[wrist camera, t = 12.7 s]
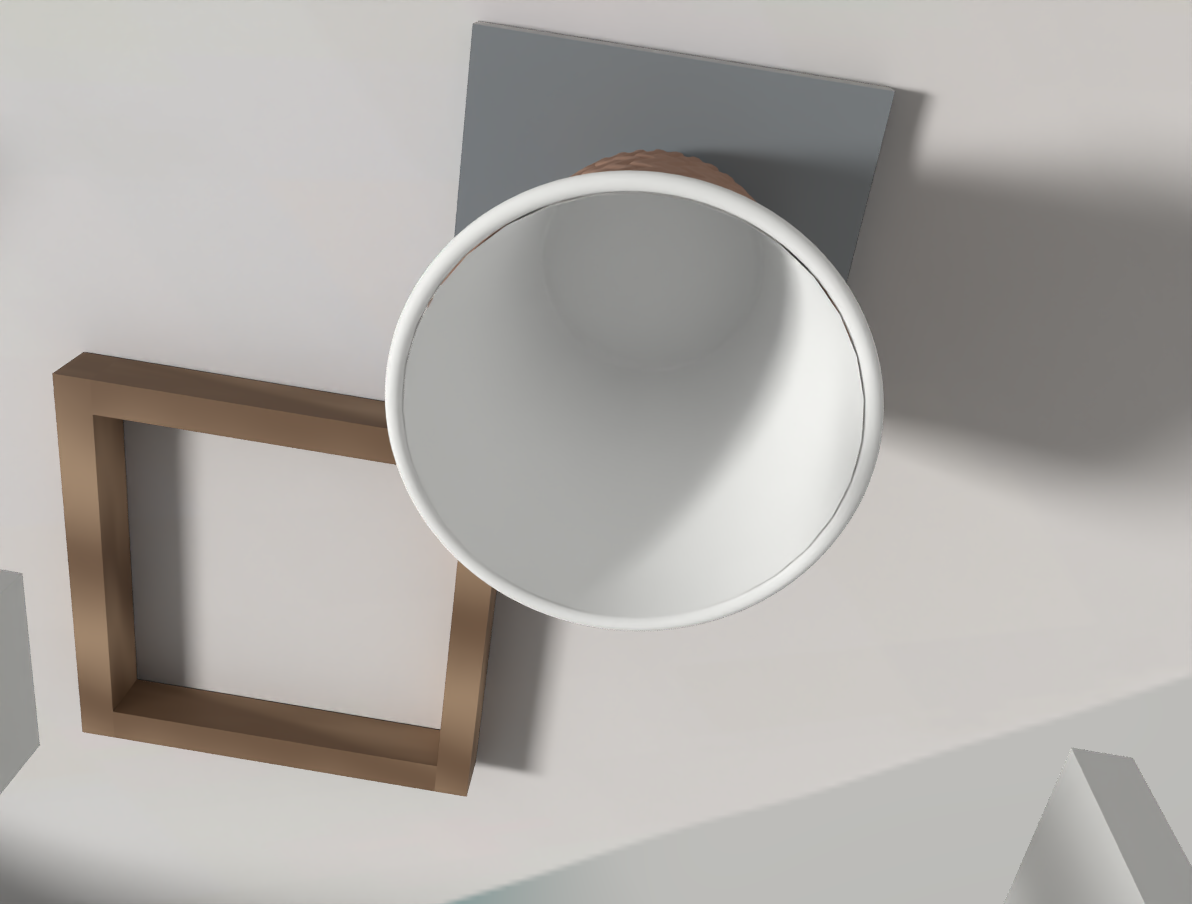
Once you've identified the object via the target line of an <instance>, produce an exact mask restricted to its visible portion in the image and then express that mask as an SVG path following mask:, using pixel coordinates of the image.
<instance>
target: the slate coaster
mask: <svg viewBox="0 0 1192 904" xmlns="http://www.w3.org/2000/svg"><path fill="white" fill-rule="evenodd" d="M894 93H895V91H894V90H893V89H891V88H890V87H887V86H881V85H875V84H869V83H862V82H856V81H850V80H844V79H837V78H831V77H825V76H819V75H813V74H806V73H800V72H794V71H788V70H781V69H775V68H769V67H763V66H756V65H750V64H744V63H738V62H731V61H725V60H719V59H713V58H707V57H700V56H694V55H688V54H682V53H675V52H669V51H663V50H657V49H650V48H644V47H638V46H632V45H625V44H619V43H613V42H607V41H601V40H594V39H588V38H582V37H576V36H569V35H563V34H557V33H551V32H544V31H538V30H532V29H526V28H519V27H513V26H507V25H501V24H494V23H488V22H482V21H478V22H476V23H473V28H472V39H471V51H470V62H469V74H468V85H467V97H466V109H465V120H464V132H463V143H462V155H461V166H460V178H459V189H458V201H457V213H456V224H455V236H454V237H456V236H457V235H458V234H459V233H460V232H461V231H462V230H464V229H465V228H466V227H467V226H468V225H469V224H471V223H472V222H473V221H475V220H476V219H477V218H479V217H480V216H482V215H483V214H485V213H486V212H488V211H489V210H491V209H492V208H494V207H495V206H497V205H499V204H501V203H503V202H504V201H506V200H508V199H510V198H512V197H514V196H516V195H518V194H521V193H523V192H525V191H527V190H530V189H533V188H535V187H538V186H540V185H543V184H546V183H550V182H553V181H556V180H560V179H564V178H568V177H570V176H572V175H573V174H575V173H576V172H578V171H580V170H581V169H583V168H585V167H586V166H588V165H591V164H593V163H595V162H597V161H599V160H601V159H603V158H605V157H608V158H609V157H612V156H614V155H617V154H618V153H622V152H627V153H631V152H634V151H636V150H645V151H646V152H649V151H654V150H656V149H660V150H664V151H665V152H680V153H682V154H683V155H684V156H685V157H692V156H694V157H697V158H699V159H700V160H701V161H702V162H704V163H709V164H712V165H714V166H715V167H717V168H718V170H719V172H722V173H726V174H728V175H729V176H730V177H732V178H733V179H734V181H735V183H737V184H739V185H740V186H742V187H743V188H744V189H745V190H746V192H747V193H748V194H749V195H750V196H751V197H752V198H753V199H754V200H755V201H756V202H757V203H759V204H760V205H762V206H764V207H765V208H767V209H769V210H771V211H772V212H774V213H775V214H777V215H778V216H780V217H781V218H783V219H784V220H786V221H787V222H788V223H790V224H791V225H792V226H793V227H795V228H796V229H797V230H798V231H800V232H801V233H802V234H803V235H804V236H805V237H807V238H808V239H809V240H810V241H811V242H812V243H813V244H814V245H815V246H816V247H817V248H818V249H819V250H820V251H821V252H822V253H823V254H824V255H825V256H826V258H827V259H828V260H829V261H830V262H831V263H832V265H833V266H834V267H835V268H836V270H837V271H838V272H839V274H840V275H841V276H842V278H843V279H844V280H845V282H846V283H847V279H848V275H849V271H850V267H851V263H852V259H853V255H854V251H855V247H856V243H857V239H858V235H859V231H860V227H861V224H862V220H863V216H864V212H865V208H866V204H867V200H868V196H869V192H870V188H871V184H872V180H873V176H874V172H875V168H876V164H877V160H878V156H879V152H880V148H881V145H882V141H883V137H884V133H885V129H886V125H887V121H888V117H889V113H890V109H891V105H892V101H893V97H894Z"/></svg>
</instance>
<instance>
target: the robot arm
mask: <svg viewBox="0 0 1192 904" xmlns="http://www.w3.org/2000/svg"><path fill="white" fill-rule="evenodd" d="M39 745H40V742H39V733H38V723H37V713H36V703H35V694H34V684H33V674H32V664H31V654H30V645H29V635H28V625H27V615H26V606H25V596H24V586H23V576H22V573H18V572H12V571H6V570H0V794H1V793H2V791H3V790H4V789H5V788H6V786H7V785H8V784H9V783H10V781H11V780H12V779H13V778H14V776H15V775H16V774H17V773H18V771H19V770H20V769H21V768H22V767H23V765H24V764H25V763H26V762H27V760H28V759H29V758H30V757H31V755H32V754H33V753H34V752H35V750H36V749H37V748H38V747H39ZM1004 904H1192V866H1191V864H1190V863H1189V861H1188V859H1187V857H1186V855H1185V853H1184V852H1183V850H1182V848H1181V846H1180V844H1179V842H1178V840H1177V838H1176V837H1175V835H1174V833H1173V831H1172V830H1171V827H1170V826H1169V824H1168V822H1167V820H1166V818H1165V816H1164V814H1163V813H1162V811H1161V809H1160V807H1159V805H1158V804H1157V801H1156V800H1155V798H1154V796H1153V794H1152V792H1151V790H1150V789H1149V787H1148V785H1147V783H1146V781H1145V779H1144V778H1143V776H1142V774H1141V772H1140V770H1139V768H1138V767H1137V765H1136V763H1135V761H1134V759H1133V758H1130V757H1124V756H1117V755H1111V754H1106V753H1099V752H1093V751H1088V750H1081V749H1076V748H1071V750H1070V752H1069V754H1068V757H1067V759H1066V761H1065V764H1064V766H1063V768H1062V771H1061V773H1060V775H1059V778H1058V780H1057V782H1056V785H1055V787H1054V789H1053V791H1052V794H1051V796H1050V798H1049V801H1048V803H1047V805H1046V807H1045V810H1044V812H1043V814H1042V817H1041V819H1040V821H1039V824H1038V826H1037V828H1036V831H1035V833H1034V835H1033V838H1032V840H1031V842H1030V844H1029V847H1028V849H1027V851H1026V854H1025V856H1024V858H1023V860H1022V863H1021V865H1020V867H1019V870H1018V872H1017V874H1016V877H1015V879H1014V881H1013V884H1012V886H1011V888H1010V890H1009V893H1008V895H1007V897H1006V900H1005V902H1004Z"/></svg>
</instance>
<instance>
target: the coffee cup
mask: <svg viewBox="0 0 1192 904" xmlns="http://www.w3.org/2000/svg"><path fill="white" fill-rule="evenodd" d="M440 285H441V286H440ZM439 286H440V287H439ZM437 289H438V290H437ZM435 292H436V293H435ZM434 294H435V295H434ZM433 295H434V296H433ZM432 297H433V298H432ZM427 305H428V307H427ZM426 307H427V310H426V312H425V313H424V311H425V309H426ZM423 313H424V315H423ZM839 313H840V314H839ZM422 315H423V317H422ZM840 315H841V316H840ZM421 317H422V319H421ZM841 317H842V318H841ZM842 319H843V320H842ZM420 320H421V321H420ZM843 321H844V322H843ZM419 322H420V323H419ZM416 329H417V330H416ZM415 332H416V333H415ZM414 335H415V337H414ZM413 338H414V340H413ZM851 339H852V342H853V345H854V348H855V351H856V353H855V351H854V348H853V346H852V343H851ZM412 341H413V343H412ZM411 344H412V347H411ZM410 348H411V350H410ZM409 351H410V354H409ZM408 355H409V357H408ZM407 360H408V361H407ZM858 365H859V367H860V372H861V378H862V385H863V391H862V385H861V379H860V373H859V367H858ZM404 379H405V384H404ZM863 396H864V397H863ZM863 408H864V419H863ZM385 410H386V421H387V428H388V434H389V439H390V443H391V448H392V451H393V455H394V458H395V461H396V464H397V467H398V470H399V473H400V475H401V478H402V480H403V483H404V485H405V487H406V489H407V492H408V493H409V495H410V497H411V499H412V501H413V503H414V505H415V507H416V508H417V510H418V512H419V513H420V515H421V516H422V518H423V519H424V521H425V522H426V524H427V525H428V527H429V528H430V529H431V531H432V532H433V533H434V534H435V536H436V537H437V538H438V539H439V541H440V542H441V543H442V544H443V545H444V546H445V547H446V549H447V550H448V551H449V552H450V553H451V554H452V555H453V556H454V557H455V558H456V559H457V560H458V561H460V562H461V563H462V564H463V565H464V566H465V567H466V568H467V569H469V570H470V571H471V572H472V573H473V574H475V575H476V576H477V577H479V578H480V579H481V580H483V581H484V582H485V583H487V584H488V585H490V586H491V587H493V588H494V589H496V590H497V591H499V592H501V593H502V594H504V595H506V596H507V597H509V598H511V599H513V600H515V601H517V602H519V603H521V604H523V605H525V606H527V607H529V608H531V609H534V610H536V611H538V612H541V613H544V614H546V615H549V616H552V617H555V618H558V619H561V620H564V621H568V622H572V623H575V624H580V625H585V626H589V627H595V628H602V629H610V630H621V631H658V630H669V629H677V628H683V627H689V626H694V625H699V624H703V623H707V622H711V621H714V620H718V619H721V618H724V617H727V616H730V615H732V614H735V613H737V612H740V611H742V610H745V609H747V608H749V607H751V606H753V605H755V604H757V603H759V602H761V601H763V600H765V599H767V598H768V597H770V596H772V595H773V594H775V593H777V592H778V591H780V590H781V589H783V588H784V587H786V586H787V585H789V584H790V583H791V582H793V581H794V580H795V579H797V578H798V577H799V576H800V575H802V574H803V573H804V572H805V571H806V570H807V569H809V568H810V567H811V566H812V565H813V564H814V563H815V562H816V561H817V560H818V559H819V558H820V557H821V556H822V555H823V554H824V553H825V552H826V551H827V550H828V548H829V547H830V546H831V545H832V544H833V543H834V541H835V540H836V539H837V538H838V536H839V535H840V534H841V532H842V531H843V530H844V528H845V527H846V525H847V524H848V522H849V521H850V519H851V518H852V516H853V514H854V513H855V511H856V509H857V508H858V506H859V504H860V502H861V500H862V498H863V496H864V494H865V491H866V489H867V487H868V484H869V482H870V479H871V476H872V474H873V471H874V468H875V464H876V461H877V457H878V453H879V448H880V443H881V437H882V430H883V418H884V392H883V380H882V373H881V367H880V362H879V357H878V353H877V349H876V346H875V342H874V339H873V336H872V333H871V330H870V328H869V325H868V323H867V320H866V318H865V316H864V314H863V312H862V309H861V307H860V305H859V304H858V302H857V300H856V298H855V296H854V295H853V293H852V291H851V290H850V288H849V287H848V285H847V283H846V282H845V280H844V279H843V278H842V276H841V275H840V274H839V272H838V271H837V270H836V268H835V267H834V266H833V265H832V263H831V262H830V261H829V260H828V259H827V258H826V256H825V255H824V254H823V253H822V252H821V251H820V250H819V249H818V248H817V247H816V246H815V245H814V244H813V243H812V242H811V241H810V240H809V239H808V238H807V237H805V236H804V235H803V234H802V233H801V232H800V231H798V230H797V229H796V228H795V227H793V226H792V225H791V224H790V223H788V222H787V221H786V220H784V219H783V218H781V217H780V216H778V215H777V214H775V213H774V212H772V211H771V210H769V209H767V208H765V207H764V206H762V205H760V204H759V203H757V202H756V201H755V200H754V199H753V198H752V197H751V196H750V195H749V194H748V193H747V192H746V190H745V189H744V188H743V187H742V186H740V185H739V184H737V183H735V181H734V179H733V178H732V177H730V176H729V175H728V174H726V173H722V172H719V170H718V168H717V167H715V166H714V165H712V164H709V163H704V162H702V161H701V160H700V159H699V158H697V157H694V156H692V157H685V156H684V155H683V154H682V153H680V152H665V151H664V150H660V149H656V150H654V151H649V152H646V151H645V150H636V151H634V152H631V153H627V152H622V153H618V154H617V155H614V156H612V157H609V158H608V157H605V158H603V159H601V160H599V161H597V162H595V163H593V164H591V165H588V166H586V167H585V168H583V169H581V170H580V171H578V172H576V173H575V174H573V175H572V176H570V177H568V178H564V179H560V180H556V181H553V182H550V183H546V184H543V185H540V186H538V187H535V188H533V189H530V190H527V191H525V192H523V193H521V194H518V195H516V196H514V197H512V198H510V199H508V200H506V201H504V202H503V203H501V204H499V205H497V206H495V207H494V208H492V209H491V210H489V211H488V212H486V213H485V214H483V215H482V216H480V217H479V218H477V219H476V220H475V221H473V222H472V223H471V224H469V225H468V226H467V227H466V228H465V229H464V230H462V231H461V232H460V233H459V234H458V235H457V236H456V237H454V238H453V239H452V240H451V241H450V242H449V243H448V244H447V245H446V246H445V247H444V249H443V250H442V251H441V252H440V253H439V254H438V255H437V256H436V258H435V259H434V260H433V261H432V263H431V264H430V265H429V266H428V268H427V269H426V270H425V272H424V273H423V275H422V276H421V278H420V279H419V281H418V282H417V284H416V286H415V287H414V289H413V291H412V293H411V294H410V296H409V298H408V300H407V302H406V304H405V306H404V309H403V311H402V313H401V316H400V318H399V321H398V324H397V326H396V329H395V332H394V336H393V339H392V343H391V347H390V352H389V357H388V362H387V370H386V380H385ZM862 426H863V431H862ZM858 453H859V454H858ZM856 460H857V461H856ZM855 464H856V465H855Z"/></svg>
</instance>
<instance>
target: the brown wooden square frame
mask: <svg viewBox="0 0 1192 904" xmlns="http://www.w3.org/2000/svg"><path fill="white" fill-rule="evenodd" d="M52 374H53V386H54V398H55V410H56V422H57V434H58V445H59V457H60V469H61V481H62V493H63V505H64V517H65V529H66V540H67V552H68V564H69V576H70V588H71V600H72V612H73V624H74V636H75V647H76V659H77V671H78V683H79V695H80V707H81V719H82V731H83V732H86V733H92V734H98V735H104V736H110V737H116V738H122V739H128V740H133V741H139V742H145V743H151V744H157V745H163V746H169V747H175V748H181V749H187V750H193V751H199V752H205V753H211V754H217V755H223V756H228V757H234V758H240V759H246V760H252V761H258V762H264V763H270V764H276V765H282V766H288V767H294V768H300V769H306V770H312V771H318V772H324V773H329V774H335V775H341V776H347V777H353V778H359V779H365V780H371V781H377V782H383V783H389V784H395V785H401V786H407V787H413V788H419V789H424V790H430V791H436V792H442V793H448V794H454V795H460V796H466V797H467V793H468V789H469V785H470V781H471V778H472V774H473V770H474V766H475V762H476V756H477V748H478V739H479V731H480V723H481V715H482V707H483V698H484V690H485V682H486V674H487V666H488V657H489V649H490V641H491V633H492V624H493V616H494V608H495V600H496V592H497V590H496V589H494V588H493V587H491V586H490V585H488V584H487V583H485V582H484V581H483V580H481V579H480V578H479V577H477V576H476V575H475V574H473V573H472V572H471V571H470V570H469V569H467V568H466V567H465V566H464V565H463V564H462V563H461V562H460V561H458V563H457V573H456V583H455V593H454V603H453V613H452V623H451V632H450V642H449V652H448V662H447V672H446V682H445V692H444V701H443V711H442V721H441V730H436V729H430V728H424V727H418V726H412V725H406V724H400V723H394V722H388V721H383V720H377V719H371V718H365V717H359V716H353V715H347V714H341V713H335V712H329V711H323V710H317V709H311V708H305V707H299V706H293V705H287V704H281V703H275V702H269V701H263V700H257V699H251V698H245V697H239V696H233V695H228V694H222V693H216V692H210V691H204V690H198V689H192V688H186V687H180V686H174V685H168V684H162V683H156V682H150V681H144V680H138V679H137V669H136V651H135V633H134V614H133V596H132V577H131V559H130V541H129V522H128V504H127V486H126V467H125V449H124V430H123V420H129V421H135V422H141V423H147V424H153V425H159V426H165V427H171V428H177V429H183V430H189V431H195V432H201V433H208V434H214V435H220V436H226V437H232V438H238V439H244V440H250V441H256V442H262V443H268V444H274V445H280V446H286V447H292V448H298V449H304V450H310V451H317V452H323V453H329V454H335V455H341V456H347V457H353V458H359V459H365V460H371V461H377V462H383V463H389V464H395V465H397V464H396V461H395V458H394V455H393V451H392V448H391V443H390V439H389V434H388V428H387V421H386V410H385V402H384V401H378V400H372V399H365V398H359V397H353V396H347V395H341V394H335V393H329V392H323V391H317V390H311V389H305V388H299V387H292V386H286V385H280V384H274V383H268V382H262V381H256V380H250V379H244V378H238V377H232V376H226V375H219V374H213V373H207V372H201V371H195V370H189V369H183V368H177V367H171V366H165V365H159V364H153V363H147V362H140V361H134V360H128V359H122V358H116V357H110V356H104V355H98V354H92V353H86V352H83V353H82V354H80V355H79V356H77V357H76V358H74V359H73V360H71V361H70V362H68V363H67V364H66V365H64V366H63V367H61V368H60V369H58V370H57V371H55V372H54V373H52Z"/></svg>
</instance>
